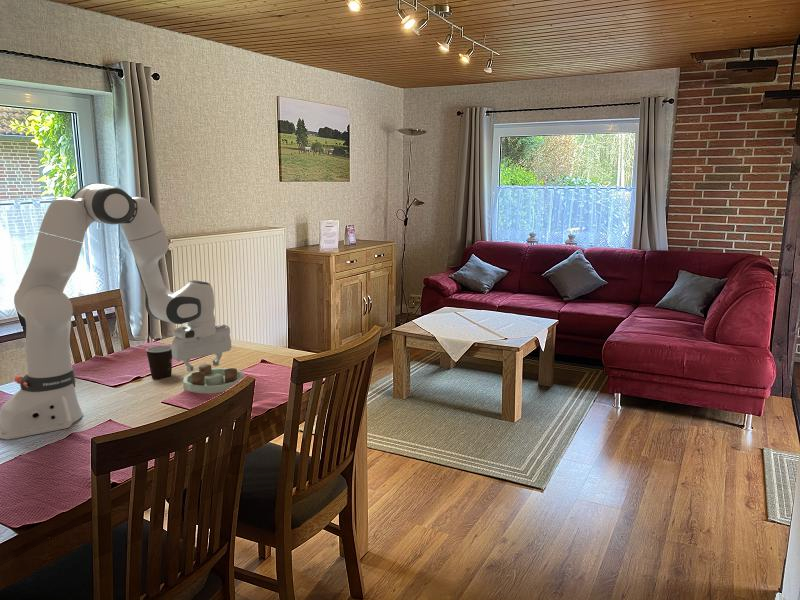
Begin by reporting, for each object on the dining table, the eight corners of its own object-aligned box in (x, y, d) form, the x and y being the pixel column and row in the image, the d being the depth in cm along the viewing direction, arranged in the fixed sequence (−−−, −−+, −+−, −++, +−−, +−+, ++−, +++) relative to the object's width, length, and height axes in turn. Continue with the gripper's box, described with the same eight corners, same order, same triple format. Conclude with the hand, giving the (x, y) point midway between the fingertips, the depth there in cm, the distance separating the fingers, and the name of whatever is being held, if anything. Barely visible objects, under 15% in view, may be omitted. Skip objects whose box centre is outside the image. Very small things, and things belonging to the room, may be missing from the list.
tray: (202, 400, 195) (201, 391, 194) (172, 385, 209) (172, 376, 208) (256, 385, 209) (255, 376, 208) (225, 372, 222) (225, 363, 222)
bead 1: (195, 389, 202) (195, 376, 201) (189, 386, 204) (188, 373, 204) (207, 386, 205) (206, 373, 204) (201, 383, 207) (200, 370, 206)
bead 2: (197, 378, 212) (196, 366, 211) (208, 376, 215) (207, 363, 214) (203, 381, 209) (202, 368, 209) (214, 379, 212) (213, 366, 211)
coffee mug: (166, 381, 212) (164, 353, 210) (143, 379, 214) (140, 351, 212) (184, 370, 224) (182, 343, 222) (162, 369, 225) (160, 342, 223)
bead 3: (229, 385, 206) (228, 372, 205) (222, 382, 208) (222, 370, 208) (239, 383, 209) (239, 370, 208) (233, 380, 211) (232, 367, 210)
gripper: (224, 322, 218) (226, 360, 221) (168, 331, 204) (170, 372, 207) (234, 325, 214) (235, 364, 217) (177, 335, 200) (179, 376, 202)
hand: (203, 368), depth 212 cm, fingers open, 8 cm apart
